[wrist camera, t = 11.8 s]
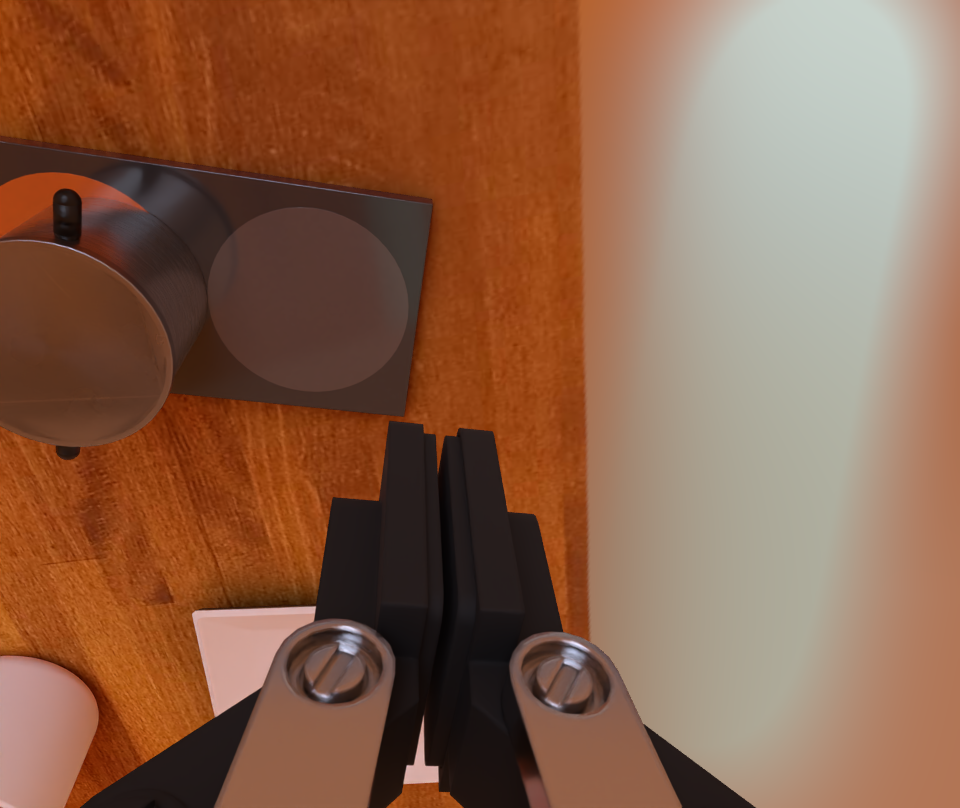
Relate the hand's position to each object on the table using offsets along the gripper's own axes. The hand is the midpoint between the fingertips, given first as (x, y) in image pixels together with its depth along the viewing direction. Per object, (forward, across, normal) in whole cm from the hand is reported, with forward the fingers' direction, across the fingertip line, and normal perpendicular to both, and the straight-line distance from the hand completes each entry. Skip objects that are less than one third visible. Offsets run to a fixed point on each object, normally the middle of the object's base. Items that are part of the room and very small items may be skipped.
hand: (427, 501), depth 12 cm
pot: (+26, +14, +8) cm, 31 cm away
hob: (+27, +10, +8) cm, 30 cm away
